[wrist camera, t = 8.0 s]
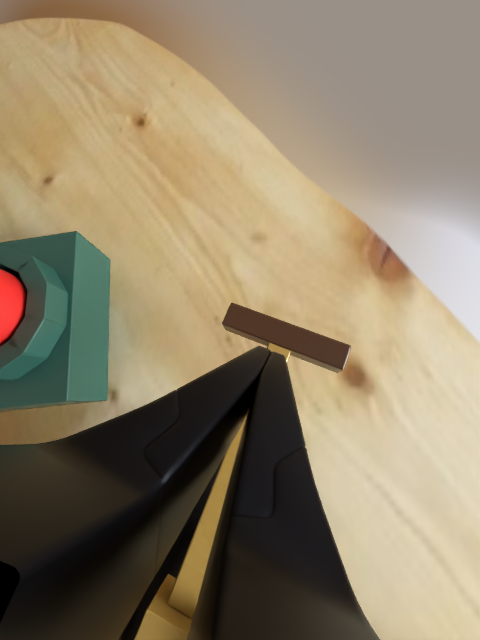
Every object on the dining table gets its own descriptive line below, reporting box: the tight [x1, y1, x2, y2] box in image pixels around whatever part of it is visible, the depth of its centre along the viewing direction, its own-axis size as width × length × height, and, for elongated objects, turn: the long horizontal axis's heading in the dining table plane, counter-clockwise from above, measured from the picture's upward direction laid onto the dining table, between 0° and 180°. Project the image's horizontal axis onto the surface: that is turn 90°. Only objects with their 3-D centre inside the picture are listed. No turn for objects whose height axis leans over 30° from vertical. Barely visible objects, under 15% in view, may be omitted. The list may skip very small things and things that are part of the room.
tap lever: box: [134, 303, 351, 640], centre depth 13 cm, size 15×6×2 cm, turn 158°
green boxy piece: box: [0, 231, 110, 412], centre depth 19 cm, size 11×8×6 cm
